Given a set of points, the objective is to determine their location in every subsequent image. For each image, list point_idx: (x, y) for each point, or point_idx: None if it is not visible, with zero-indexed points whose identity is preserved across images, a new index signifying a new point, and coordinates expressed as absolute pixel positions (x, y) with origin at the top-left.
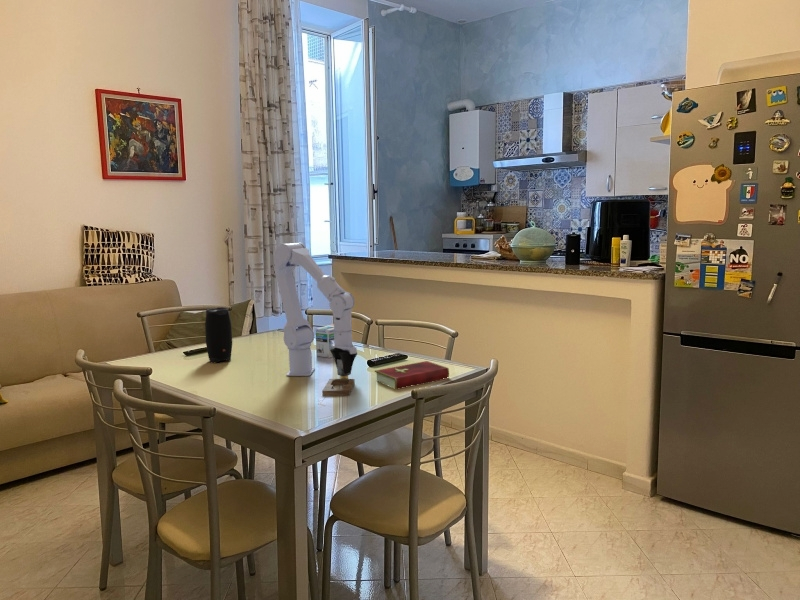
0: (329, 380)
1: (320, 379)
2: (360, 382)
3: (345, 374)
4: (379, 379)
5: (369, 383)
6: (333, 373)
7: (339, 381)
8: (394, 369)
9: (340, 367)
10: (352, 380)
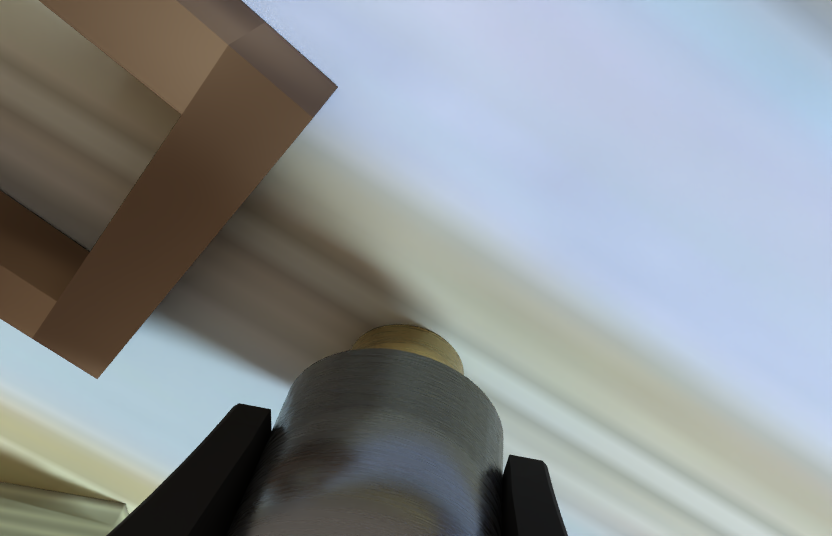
0: (199, 46)
1: (718, 128)
2: (154, 399)
3: (283, 407)
4: (49, 522)
5: (69, 427)
6: (793, 452)
7: (138, 188)
8: None
9: (288, 476)
10: (28, 320)
